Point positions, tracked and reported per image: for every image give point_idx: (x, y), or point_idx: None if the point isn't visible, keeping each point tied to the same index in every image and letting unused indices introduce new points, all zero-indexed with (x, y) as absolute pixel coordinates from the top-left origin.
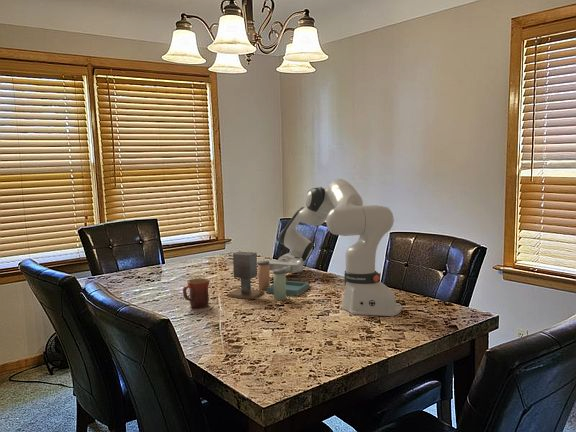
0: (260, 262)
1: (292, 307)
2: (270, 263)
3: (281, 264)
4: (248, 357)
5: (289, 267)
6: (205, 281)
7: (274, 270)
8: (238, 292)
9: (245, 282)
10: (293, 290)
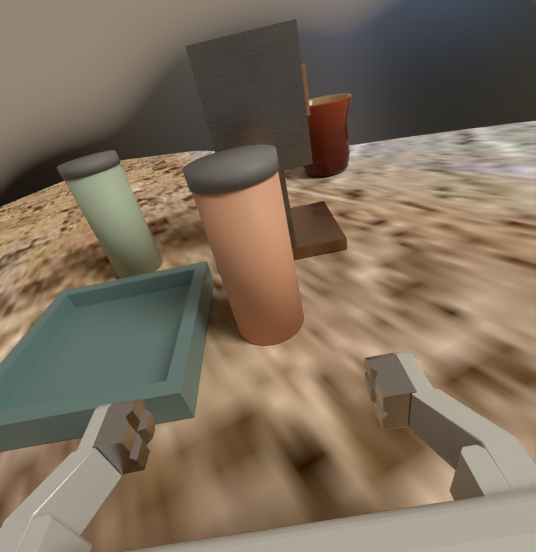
0: (239, 149)
1: (93, 247)
2: (457, 501)
3: (180, 544)
4: (140, 168)
5: (32, 506)
6: (320, 112)
7: (109, 152)
8: (303, 218)
9: None
10: (77, 288)
